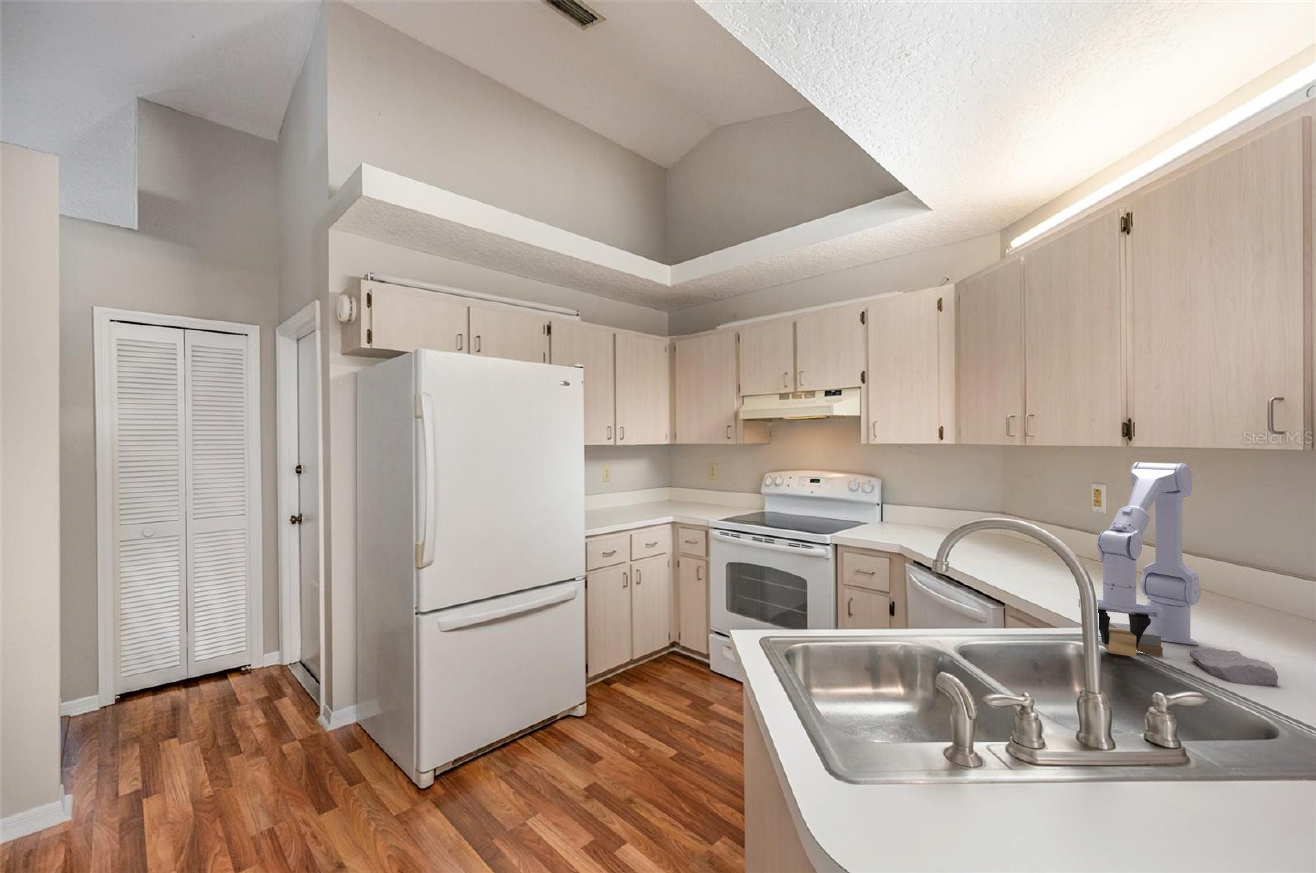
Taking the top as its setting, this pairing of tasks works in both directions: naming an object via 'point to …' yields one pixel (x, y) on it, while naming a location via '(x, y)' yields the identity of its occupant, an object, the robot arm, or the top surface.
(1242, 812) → the top surface
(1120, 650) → the oak cube
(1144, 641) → the top slab
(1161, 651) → the bottom slab
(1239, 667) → the stone block
